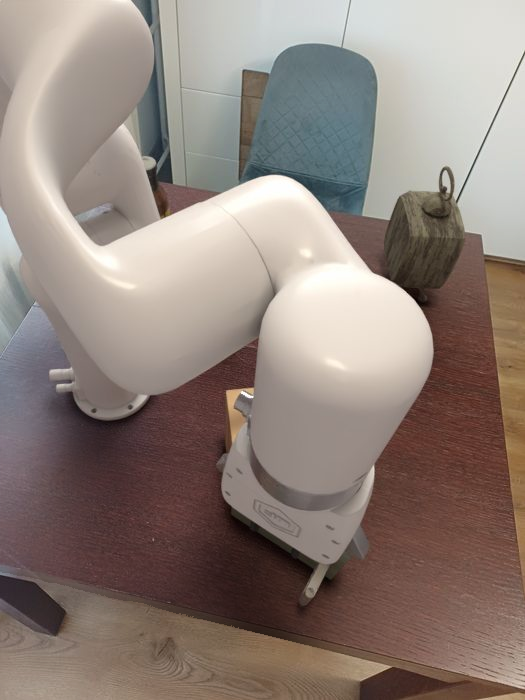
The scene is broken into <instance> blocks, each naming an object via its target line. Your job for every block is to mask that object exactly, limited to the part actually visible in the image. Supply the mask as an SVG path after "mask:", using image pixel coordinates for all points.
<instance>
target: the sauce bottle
mask: <svg viewBox="0 0 525 700" xmlns="http://www.w3.org/2000/svg"><path fill="white" fill-rule="evenodd" d="M141 157H142V160H143V163H144V166H145V169H146V173H147V176H148V179H149V182H150V186H151V189H152V192H153V196H154V199H155V202H156V206H157V209H158V212H159V215H160V219H163V218H166V217H168V216H170V215H171V211H170V210H171V209H170V204H169V200H168V194H167V192H166V191H165V189H164V187H163V185H162V184H161V183H160V182H159V178H158V173H157V172H158V165H157V160H155V159H154V157H152V156H149V155H148V156H147V155H144V156H143V155H142V156H141Z"/></svg>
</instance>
